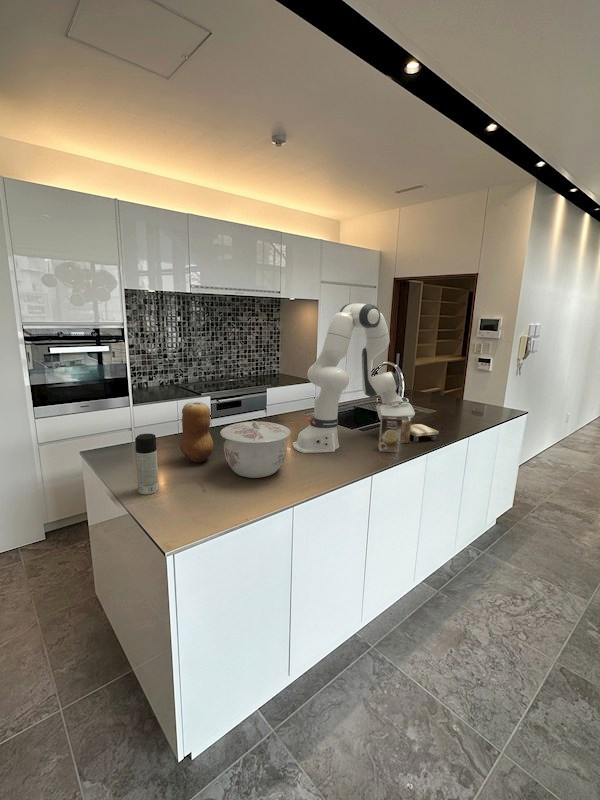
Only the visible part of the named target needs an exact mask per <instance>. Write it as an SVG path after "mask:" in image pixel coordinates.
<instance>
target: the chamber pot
mask: <svg viewBox="0 0 600 800" xmlns="http://www.w3.org/2000/svg"><path fill="white" fill-rule="evenodd" d="M219 434H220V436H221V437H222V438H224V439H225V442H224V443H223V452H224V456H225V460H226V463H227V465H228V466H229V467H230V469H231V470H232V471H233V472H234V473H235V474H237V475H238V476H240V477H243V478H250V479H255V478H256V479H257V478H258V479H259V478H260V479H261V478H265V477H270V476H272V475H273V474H276V472H277V471H278V470H279V469H280V467H281V466H282V465H283V463H284V462H285V459H286V455H287V448H288V447H287V446H288V444H287V443H288V442H287V440H286V439H287V438H288V437H290V435H291V434H292V431H291V430H290V429H289V428H288V427H287V426H285V425H282V424H279V423H274V422H268V421H257V420H253V421H243V422H237V423H233V424H229V425H227V426H225V427H223V428H222V429H221V430H220V432H219Z"/></svg>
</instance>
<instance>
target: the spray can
mask: <svg viewBox="0 0 600 800" xmlns="http://www.w3.org/2000/svg"><path fill="white" fill-rule="evenodd" d="M134 439H135V458H136V475H137V489H138V493H139V494H141V495H151V494H156V493H157V492H158V491H159V487H160V486H159V485H160V484H159V469H158V467H159V466H158V451H157V450H158V449H157V448H158V447H157V437H156V435H155V433H154V434H153V433H142V434H138V435H137V436H136V437H135V438H134Z"/></svg>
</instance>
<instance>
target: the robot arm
mask: <svg viewBox="0 0 600 800" xmlns="http://www.w3.org/2000/svg"><path fill="white" fill-rule="evenodd" d="M355 328H360V329H361V328H363V329H364V334H365V338H366V341H365V343H366V344H365V346H364V347H363V348H362V351H361V366H362V367H361V370H362V381H361V383H362V391H363V394H364V395H365V396H367V397H369V398H373V397H376V396H378V395H379V396H380V397H381V398H380V399H381V403H377V404H376V405H375V409H376V412H377V415H378V419H379V420H380V421H381V415H385V416H398V417H401V419H406V420H408V421H411V419H412V418H414V416H415V414H416V412H415V409H414V407H413V405H412V404H411V403H410V402H409V398H407V397H402V396H400V395H398V393H397V392H396V390H397V389H398V387H400V381H399V378H398V376H397V374H396V373H395V372H394V371H388V372H382V373H381V374H378V375H374V376H372V363H373V361H374V360H375V358H377V357H378V356H379V355H380V354H382V353H383V352H384V351H385V350H386V349H387V348H388V347H389V345H390V333H389V329H388V325H387V322H386V319H385V317H384V314H383V313H381V312H380V310H379V308H378V307H377V306H376V305H374V304H370V303H361V302H357V303H356V302H355V303H347V304H344V305H343V306H342V307H341V309H340V310H339V312H337V313H335V314H334V315H333V317H332V319H331V322H330V323H329V326H328V330H327V331H326V332H327V333H326V337H325V340H324V342H323V346H322V349H321V352H320V354H319V356H318V357H317V358H316V361H315V362H314V363H313V364H311V366H310V367H309V368H308V370H307V374H306V375H307V379H308V380H309V381H310V383H312V384H313V385H314V386H316V387H318V388H320V392H319V395H318V397H317V398H316V399H315V400H314V406H313V407H314V408H313V409H314V410H313V417H312V418H311V417H310V416H307V418H306V421H307V422H309V425H308V426H307V427H305V428H304V429H303V430H301V431H300V432H299V433H298V436H297V439H296V441H292V447H293V449H295V450H296V451H298V452H299V453H303V454H309V453H310V454H312V453H313V454H315V453H318V454H319V453H334V452H335V451H336V450H337V449H339V448H340V444H339V437H338V428H339V417H338V412H339V411H338V409H339V401H340V398H341V395H342V393H343V392H344V390H345V389H347V388H348V386H349V384H350V377H349V374H348V372H346V371H345V370H343V369H342V368H340V367H337V366H338V364H339V363H340V362H341V361H342V360H343V359H344V358H345V357H346V355H347V351H348V349H349V345H350V342H351V339H352V338H351V337H352V334H353V330H354V329H355Z"/></svg>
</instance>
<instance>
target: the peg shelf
mask: <svg viewBox="0 0 600 800" xmlns="http://www.w3.org/2000/svg"><path fill="white" fill-rule="evenodd" d="M410 435H412V436H413V438H412V439H413V441H412V442H413V443H415V442H418V443H419V437H422V436H430V440H431V441H433V442H434V441H436V440H437V435H439V430H436V429H434V428H432V427H429V426H427V425H424V424H422V423H420V424H419V423H418V424H415V423H414V424H411V428H410Z"/></svg>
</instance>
